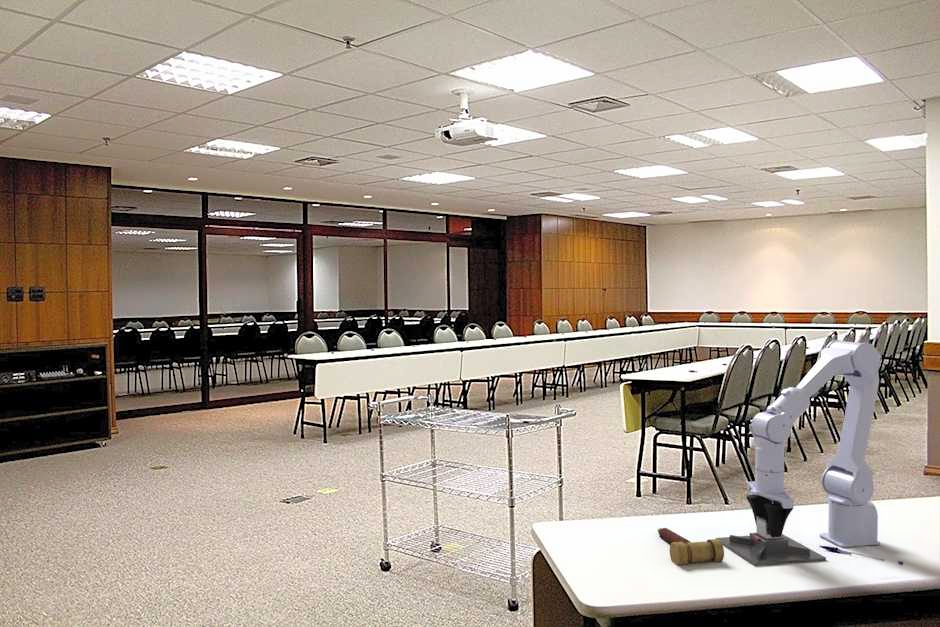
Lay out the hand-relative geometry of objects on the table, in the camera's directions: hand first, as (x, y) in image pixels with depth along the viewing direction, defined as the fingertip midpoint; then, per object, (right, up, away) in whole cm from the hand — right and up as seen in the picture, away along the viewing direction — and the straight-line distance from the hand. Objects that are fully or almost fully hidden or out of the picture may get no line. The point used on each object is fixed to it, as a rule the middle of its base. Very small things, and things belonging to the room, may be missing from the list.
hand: (768, 532), depth 167 cm
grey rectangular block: (0, -4, 0) cm, 4 cm away
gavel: (-19, -5, +2) cm, 19 cm away
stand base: (0, -4, 0) cm, 4 cm away
